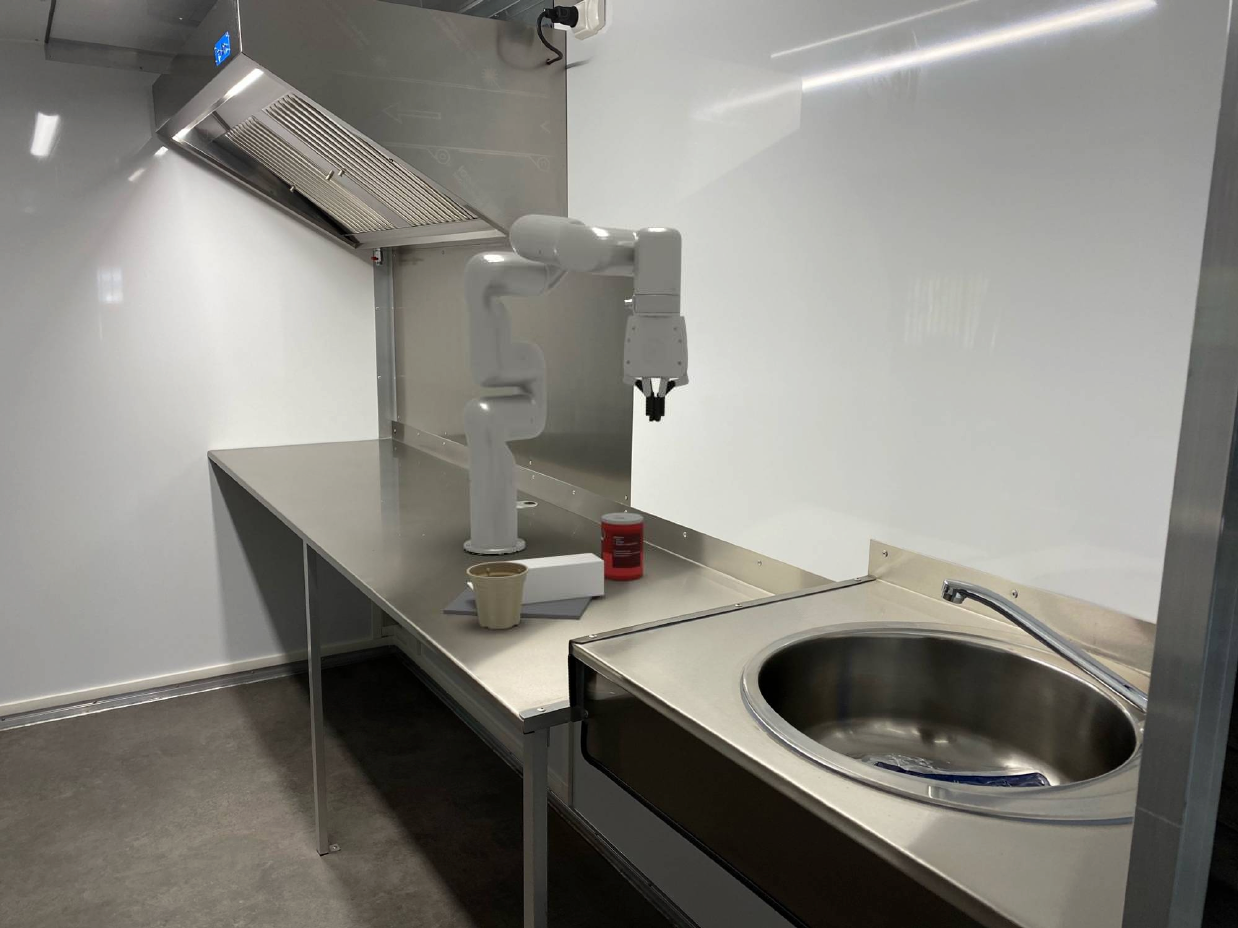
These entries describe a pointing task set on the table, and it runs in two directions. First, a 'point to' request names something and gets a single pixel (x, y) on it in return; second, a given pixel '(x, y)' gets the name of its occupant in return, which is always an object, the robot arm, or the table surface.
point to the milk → (562, 578)
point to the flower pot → (498, 592)
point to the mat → (525, 607)
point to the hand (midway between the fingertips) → (655, 420)
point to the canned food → (622, 545)
